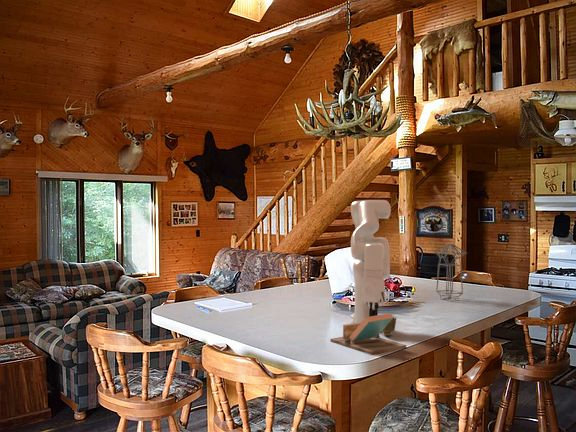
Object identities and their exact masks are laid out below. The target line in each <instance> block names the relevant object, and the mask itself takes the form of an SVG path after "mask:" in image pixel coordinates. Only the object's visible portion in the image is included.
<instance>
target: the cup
mask: <svg viewBox="0 0 576 432" xmlns="http://www.w3.org/2000/svg"><path fill="white" fill-rule="evenodd" d="M396 323H397V317H395V316H394V318H393V319H392V320H391V321H390V322H389V323H388V325H387V326H386V327H385V328H384V329H383V330H382V331H381V332H383V336H385V337H391V336H392V335H393V333H394V331H395V330H396V325H397V324H396Z"/></svg>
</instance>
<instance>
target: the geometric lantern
mask: <svg viewBox="0 0 576 432" xmlns="http://www.w3.org/2000/svg"><path fill="white" fill-rule="evenodd" d="M441 249H442V250H441ZM440 250H441V251H440ZM433 253H435V255H436V256H437V257H439V258H438V263H437V274H436V275H437V279H436V288H435V289H436V291H435V292H436V293H437V294H438V295H439V296H440V297H443V298H447V299H449V300H450V299H451V300H452V297H454V295H455V298H459V297H461V296H462V295H463V294H464V290H463V289H464V288H463V264H462V261H461V259H462V258H463V257H464V256H465V255H467V254H468V252H467V251H465V250H463V249H461V248H460V247H458V246H457V245H455V244H453V243H448V244H446V245H444V246H442V247H441V248H438V249H436V250H434V251H433ZM449 254H451V255H452V257H453V259H452V260H451V262H449V260H448V259H447V258H446V257H447V256H448V255H449ZM442 259H443V260H444V262H445V264H444V267H445V266H446V276H447V277H446V280H445V281H446V283H445V289H443V290H441V291H440V290H438V288H439V277H440V268H441V266H443V263H441V261H442ZM458 259H459V263H460V264H455V262H456V261H457V260H458ZM456 266H457V267H459V268H460V269H459V270H460V281H461V285H460V286H461V291H459V290H458V291H456V290H454V273H453V272H454V267H456ZM441 294H443V295H441Z"/></svg>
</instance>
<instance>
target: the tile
mask: <svg viewBox="0 0 576 432" xmlns="http://www.w3.org/2000/svg"><path fill="white" fill-rule="evenodd" d="M393 318H395V316H393V315H392V313H390V312H389V313H383V314H379V315H377V316H370V317H366V318H365V319H364V320H363V321H362V323H361V324H360V325H359V326H358V327H357V329H356V330H355V331H354V332H353V333H352V335H351V336H350V337H349V338H350V340H351V342H354V341H359V340H364V339H370V338H375V337H377V336H378V335H379V336H380V334H381V333H382V332H383V331H382V330H383V329H384V328H385V327H386V326H387V325H388V323H389V322H390V321H391V320H392V319H393Z"/></svg>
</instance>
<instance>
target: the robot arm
mask: <svg viewBox="0 0 576 432" xmlns="http://www.w3.org/2000/svg"><path fill="white" fill-rule="evenodd" d="M391 209H392V207H391V205H390V203H389V201H388V200H385V199H365V200H355V201H353V202H352V203H351V204H350V213H351V219H352V222H353V224H354V227H355V230H354V231H353V233H352V235H351V238H350V253H351V256H352V258H353V259H354V260H355V261H354V262H353V265H352V270H353V271H352V272H353V279H354V313H352V314H351V315H350V319H352V321H351V323H357V322H362V321H363V320H364V319H365V318H366V317H370V316H377V315H378V312H379V311H378V310H379V308H380V307H384V305H385V302H386V285H385V284H386V283H385V280H388V279H389V278H390V274H391V273H390V272H391V264H390V263H391V262H390V261H391V259H390V258H391V257H390V243H389V241H388V239H387V238H386V237H381V236H380V237H379V236H378V237H377V236H376V237H375V236H374V234H375V233H376V232H378V231H379V229H380V223H379V222H380V221H379V219H389V218H390V216H391V212H392V210H391ZM351 323H350V324H351Z"/></svg>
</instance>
